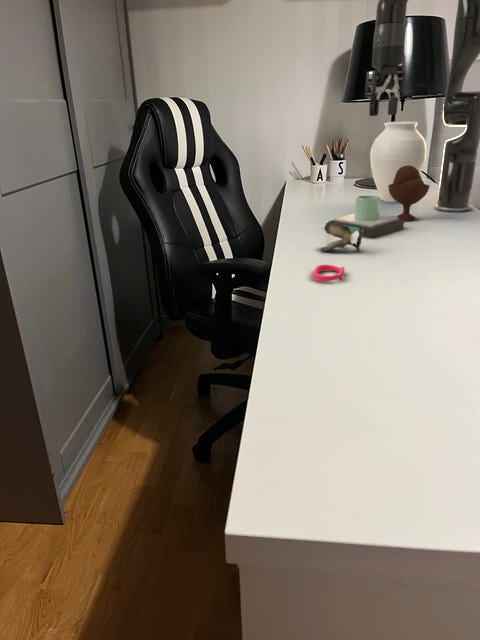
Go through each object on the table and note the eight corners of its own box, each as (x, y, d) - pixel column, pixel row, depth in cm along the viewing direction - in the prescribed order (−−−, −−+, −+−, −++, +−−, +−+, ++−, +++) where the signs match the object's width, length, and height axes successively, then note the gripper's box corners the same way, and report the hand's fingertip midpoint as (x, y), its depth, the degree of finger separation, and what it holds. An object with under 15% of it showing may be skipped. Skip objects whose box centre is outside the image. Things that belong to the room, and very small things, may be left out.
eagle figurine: (360, 240, 119) (322, 232, 120) (367, 219, 113) (327, 211, 114) (355, 264, 115) (317, 256, 116) (362, 244, 109) (321, 235, 110)
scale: (359, 221, 143) (360, 210, 142) (403, 228, 133) (404, 217, 132) (327, 230, 134) (328, 218, 133) (372, 238, 125) (372, 226, 123)
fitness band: (342, 284, 94) (342, 276, 93) (311, 282, 95) (311, 274, 95) (345, 271, 101) (345, 263, 101) (316, 269, 103) (316, 262, 102)
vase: (394, 207, 161) (402, 123, 151) (356, 199, 175) (361, 122, 165) (432, 201, 169) (442, 121, 159) (392, 194, 183) (399, 120, 173)
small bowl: (363, 214, 136) (365, 194, 134) (382, 218, 132) (384, 196, 130) (350, 218, 133) (351, 197, 131) (369, 221, 129) (371, 200, 126)
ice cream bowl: (428, 223, 138) (435, 167, 132) (386, 222, 140) (391, 167, 134) (423, 215, 148) (429, 162, 142) (384, 215, 150) (388, 163, 144)
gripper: (385, 42, 118) (379, 116, 125) (417, 45, 127) (410, 114, 133) (359, 45, 123) (354, 116, 130) (391, 48, 132) (385, 114, 138)
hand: (383, 115), depth 132 cm, fingers open, 8 cm apart
